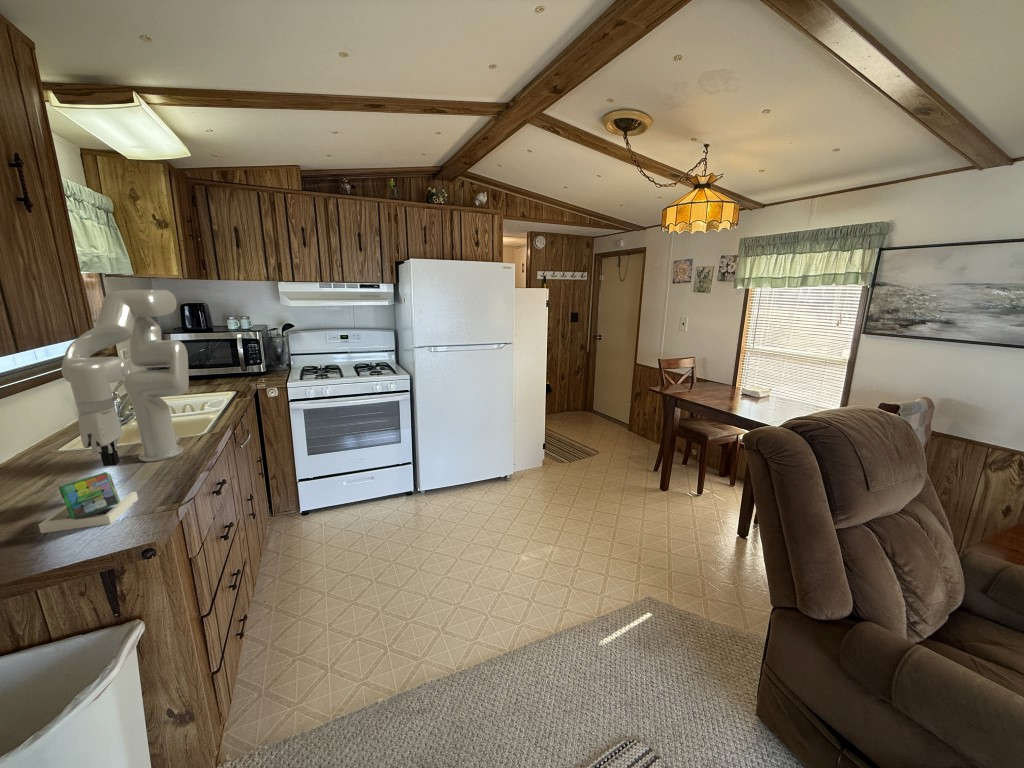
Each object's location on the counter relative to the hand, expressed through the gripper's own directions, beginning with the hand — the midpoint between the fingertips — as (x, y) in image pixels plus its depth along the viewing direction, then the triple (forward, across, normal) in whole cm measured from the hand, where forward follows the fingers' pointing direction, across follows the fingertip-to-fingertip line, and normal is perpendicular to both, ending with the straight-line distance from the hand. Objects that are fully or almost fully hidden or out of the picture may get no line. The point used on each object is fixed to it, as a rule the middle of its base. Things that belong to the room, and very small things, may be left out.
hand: (111, 464), depth 122 cm
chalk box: (+5, +9, -1) cm, 10 cm away
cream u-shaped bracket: (+9, +12, 0) cm, 15 cm away
